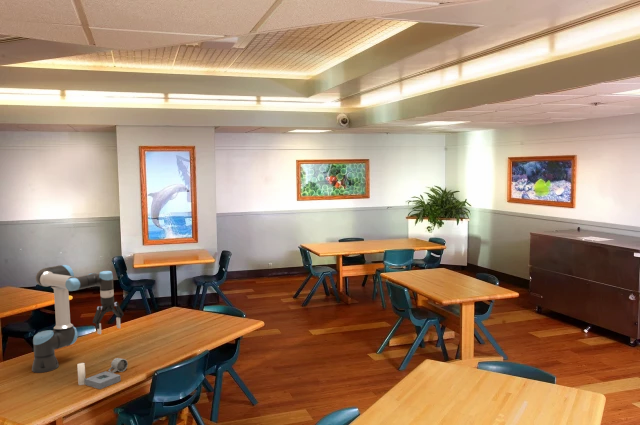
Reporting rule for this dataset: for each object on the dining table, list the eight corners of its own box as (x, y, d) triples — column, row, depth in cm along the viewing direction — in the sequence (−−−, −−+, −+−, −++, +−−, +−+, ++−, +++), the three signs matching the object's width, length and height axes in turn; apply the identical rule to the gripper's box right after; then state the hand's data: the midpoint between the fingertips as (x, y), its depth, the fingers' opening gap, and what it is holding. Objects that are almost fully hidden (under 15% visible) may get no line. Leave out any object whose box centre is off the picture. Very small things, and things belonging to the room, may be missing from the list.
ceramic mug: (121, 366, 337) (120, 355, 336) (128, 369, 332) (127, 357, 331) (105, 372, 328) (104, 360, 327) (113, 375, 323) (112, 363, 323)
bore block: (85, 384, 309) (84, 378, 308) (105, 376, 320) (105, 371, 320) (100, 389, 301) (99, 383, 301) (120, 380, 313) (120, 375, 313)
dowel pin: (76, 384, 310) (75, 364, 309) (83, 382, 313) (81, 362, 312) (81, 385, 307) (79, 365, 307) (87, 383, 311) (86, 363, 310)
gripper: (92, 301, 307) (94, 337, 308) (128, 293, 328) (130, 326, 329) (84, 300, 310) (87, 335, 312) (120, 291, 332) (122, 324, 333)
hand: (109, 330), depth 321 cm, fingers open, 13 cm apart
